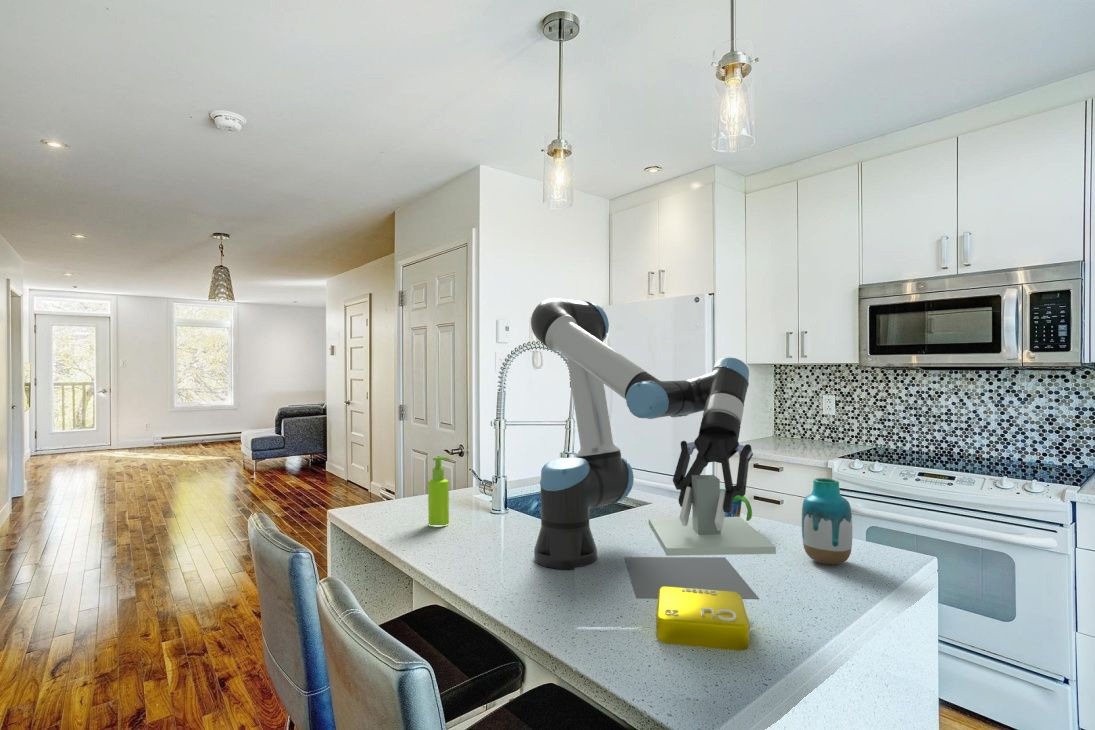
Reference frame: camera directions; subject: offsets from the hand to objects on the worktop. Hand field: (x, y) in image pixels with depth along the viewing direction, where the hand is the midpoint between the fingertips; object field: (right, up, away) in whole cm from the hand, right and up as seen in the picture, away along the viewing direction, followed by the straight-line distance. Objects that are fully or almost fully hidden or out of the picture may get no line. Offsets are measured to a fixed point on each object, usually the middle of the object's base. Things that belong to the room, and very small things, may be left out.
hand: (700, 524), depth 98 cm
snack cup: (+23, -19, +61) cm, 68 cm away
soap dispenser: (-59, -19, +67) cm, 91 cm away
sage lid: (+2, -3, +3) cm, 5 cm away
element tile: (0, -19, +1) cm, 19 cm away
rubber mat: (+3, -18, +23) cm, 30 cm away
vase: (+38, -18, +32) cm, 53 cm away
